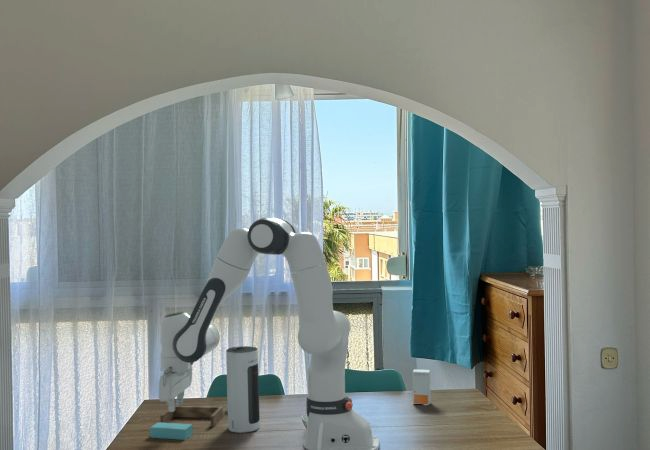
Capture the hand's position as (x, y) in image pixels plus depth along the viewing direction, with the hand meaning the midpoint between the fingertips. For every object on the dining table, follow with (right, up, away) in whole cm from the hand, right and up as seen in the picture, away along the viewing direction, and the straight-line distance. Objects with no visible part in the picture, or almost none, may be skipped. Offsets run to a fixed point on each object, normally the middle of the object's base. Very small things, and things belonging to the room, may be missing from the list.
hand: (175, 408), depth 202 cm
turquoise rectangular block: (-1, -9, 0) cm, 9 cm away
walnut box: (+2, -9, +15) cm, 17 cm away
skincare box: (+82, -7, +30) cm, 87 cm away
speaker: (+20, -9, +7) cm, 23 cm away
